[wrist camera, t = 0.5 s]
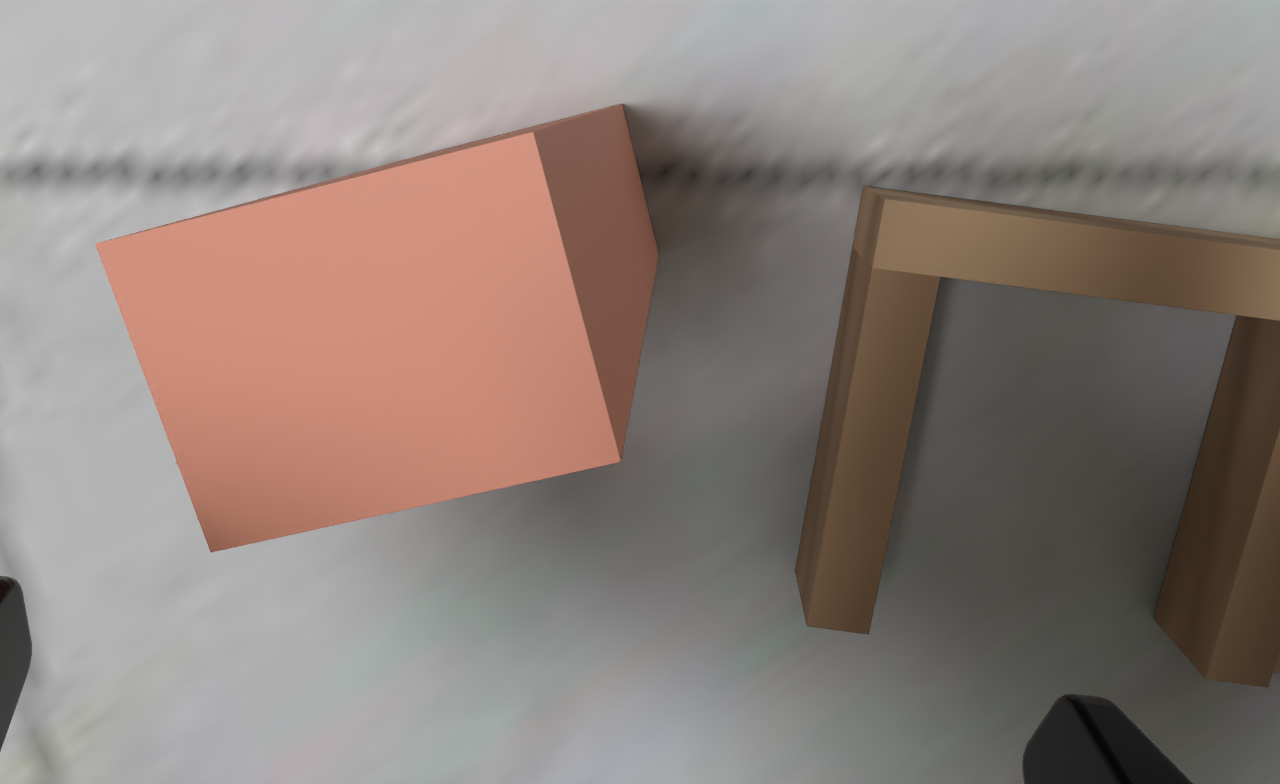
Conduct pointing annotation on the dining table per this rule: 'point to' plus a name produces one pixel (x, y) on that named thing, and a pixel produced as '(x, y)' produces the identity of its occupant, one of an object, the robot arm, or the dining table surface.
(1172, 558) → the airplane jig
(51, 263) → the dining table surface
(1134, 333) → the dining table surface
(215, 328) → the salmon pink box
